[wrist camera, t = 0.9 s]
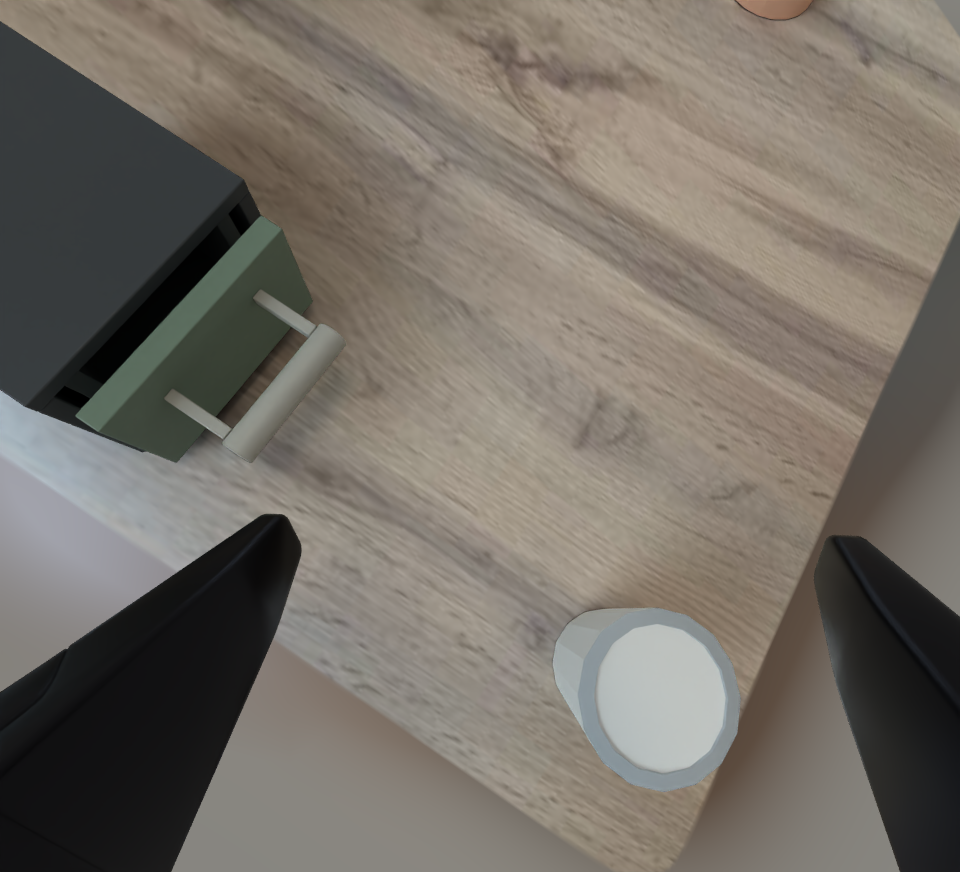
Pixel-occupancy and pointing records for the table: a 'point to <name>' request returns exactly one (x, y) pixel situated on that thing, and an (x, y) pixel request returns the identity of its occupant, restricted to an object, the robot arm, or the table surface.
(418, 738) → the table surface
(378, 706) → the table surface
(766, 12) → the salt shaker
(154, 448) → the drawer
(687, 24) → the table surface
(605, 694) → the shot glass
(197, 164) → the cabinet
